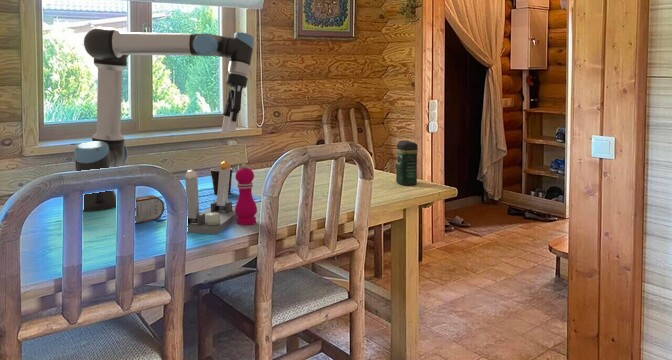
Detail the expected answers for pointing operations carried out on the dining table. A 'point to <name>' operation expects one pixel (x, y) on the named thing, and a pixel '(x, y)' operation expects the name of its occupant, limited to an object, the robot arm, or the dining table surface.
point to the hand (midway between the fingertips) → (228, 132)
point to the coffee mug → (216, 177)
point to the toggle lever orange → (223, 186)
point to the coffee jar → (406, 163)
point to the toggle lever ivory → (192, 195)
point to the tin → (148, 208)
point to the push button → (212, 218)
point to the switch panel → (201, 226)
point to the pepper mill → (245, 197)
